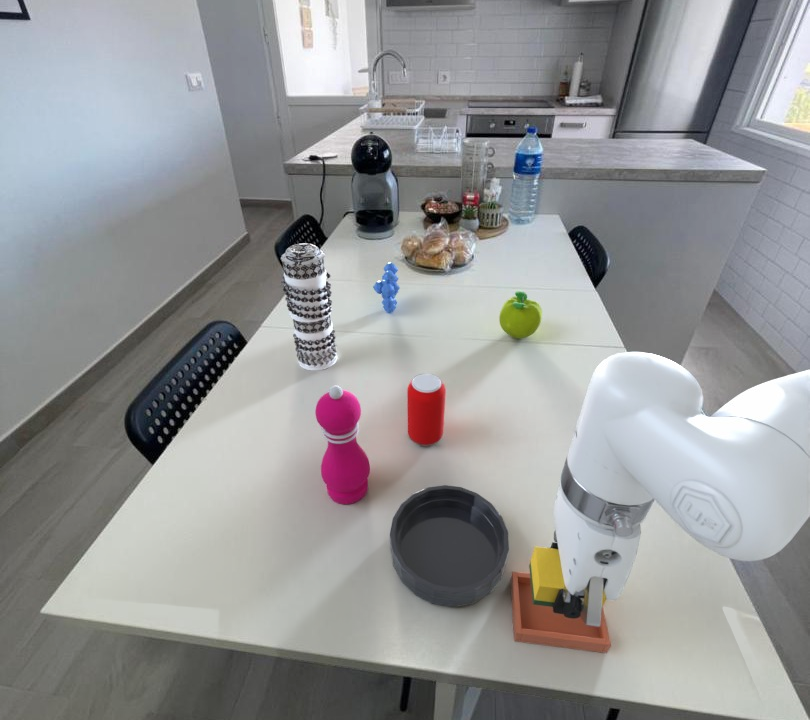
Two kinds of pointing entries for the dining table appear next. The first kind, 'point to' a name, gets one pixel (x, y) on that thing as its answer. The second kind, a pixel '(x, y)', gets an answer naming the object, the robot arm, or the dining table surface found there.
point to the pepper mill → (342, 446)
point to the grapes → (388, 287)
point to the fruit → (520, 316)
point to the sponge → (547, 576)
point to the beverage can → (425, 409)
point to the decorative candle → (309, 306)
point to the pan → (449, 545)
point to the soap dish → (551, 622)
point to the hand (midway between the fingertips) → (563, 586)
